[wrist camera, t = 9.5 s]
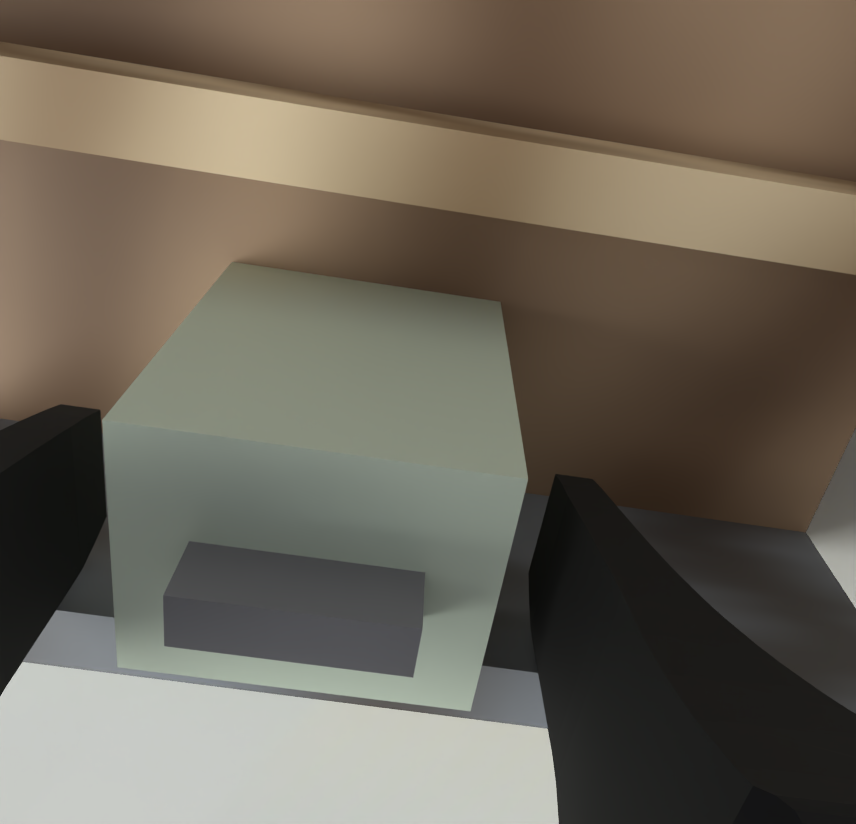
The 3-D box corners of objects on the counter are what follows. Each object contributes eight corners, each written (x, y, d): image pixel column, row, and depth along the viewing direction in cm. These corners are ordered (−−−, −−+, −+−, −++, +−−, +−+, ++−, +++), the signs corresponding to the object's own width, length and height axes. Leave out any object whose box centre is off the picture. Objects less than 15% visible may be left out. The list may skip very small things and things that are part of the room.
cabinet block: (226, 447, 16) (87, 726, 10) (231, 261, 14) (63, 465, 8) (464, 479, 16) (472, 773, 10) (500, 301, 14) (536, 530, 8)
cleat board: (-10, 437, 17) (-212, 632, 12) (-130, -425, 11) (-691, -831, 5) (769, 547, 18) (899, 773, 13) (1104, -191, 12) (1650, -345, 6)
